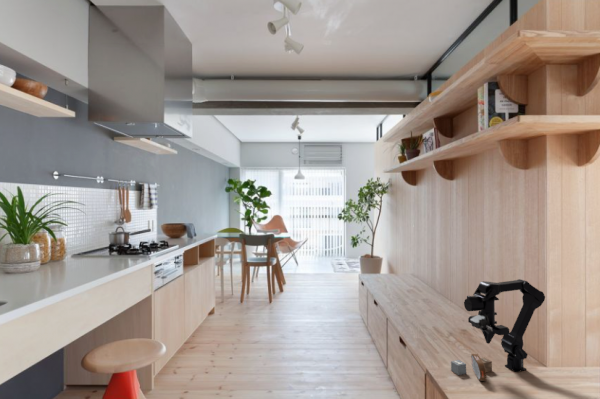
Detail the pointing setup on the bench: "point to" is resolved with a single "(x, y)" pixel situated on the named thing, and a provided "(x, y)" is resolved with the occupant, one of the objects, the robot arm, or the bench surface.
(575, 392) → the bench surface
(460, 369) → the slate number block
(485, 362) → the walnut number block
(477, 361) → the tin
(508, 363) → the robot arm
